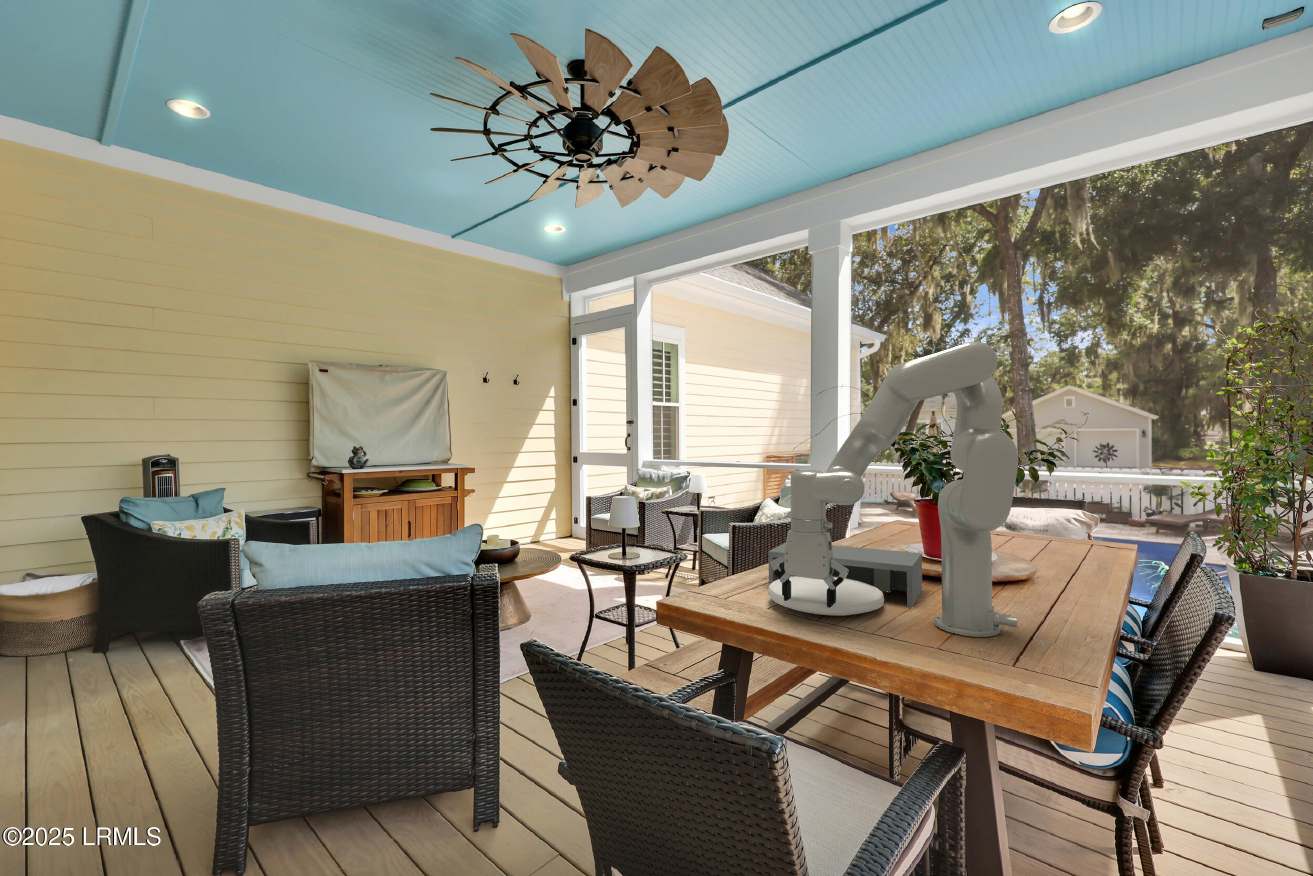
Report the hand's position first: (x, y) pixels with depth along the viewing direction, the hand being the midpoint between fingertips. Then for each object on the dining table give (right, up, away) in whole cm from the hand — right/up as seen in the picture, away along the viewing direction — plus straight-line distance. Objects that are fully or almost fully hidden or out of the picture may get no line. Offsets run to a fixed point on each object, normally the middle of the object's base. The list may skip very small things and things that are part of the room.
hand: (808, 602), depth 130 cm
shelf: (+16, -4, +26) cm, 30 cm away
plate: (+7, -5, +13) cm, 15 cm away
